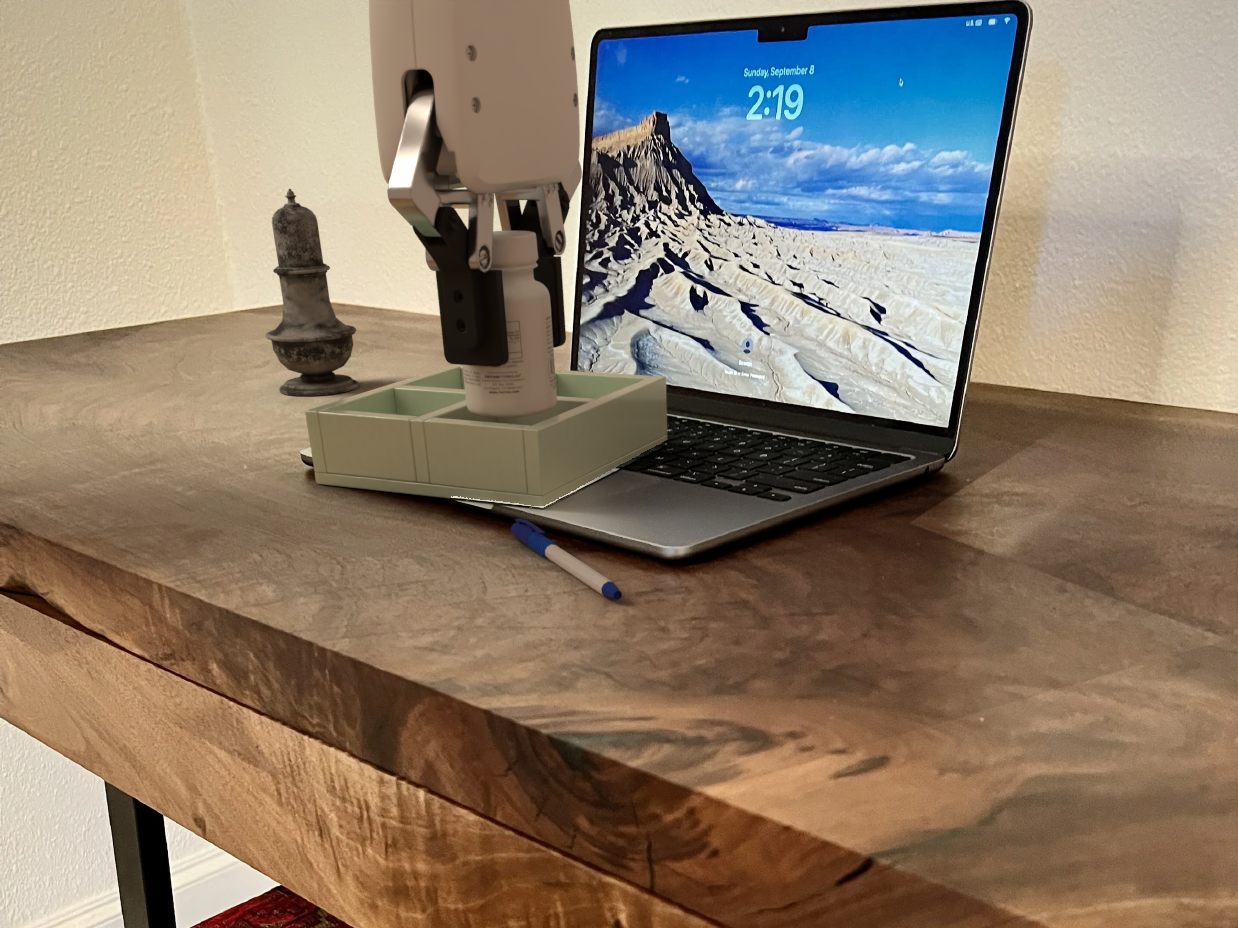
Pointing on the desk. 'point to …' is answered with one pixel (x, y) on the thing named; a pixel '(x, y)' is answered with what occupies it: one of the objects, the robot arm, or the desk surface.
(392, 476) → the tray
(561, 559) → the ballpoint pen
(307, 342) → the salt shaker
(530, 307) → the pill bottle
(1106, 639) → the desk surface
